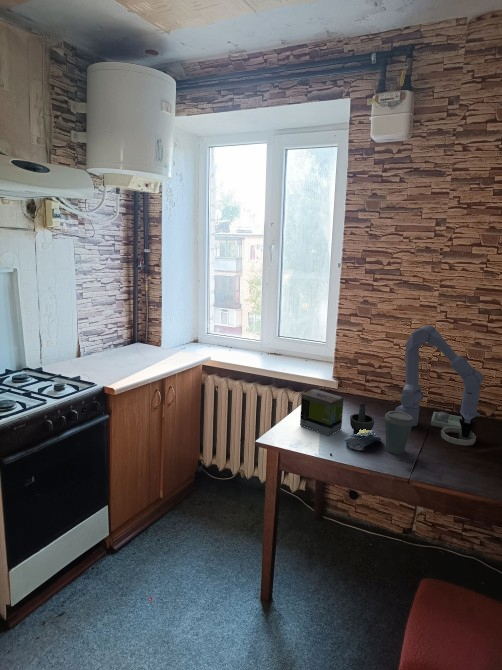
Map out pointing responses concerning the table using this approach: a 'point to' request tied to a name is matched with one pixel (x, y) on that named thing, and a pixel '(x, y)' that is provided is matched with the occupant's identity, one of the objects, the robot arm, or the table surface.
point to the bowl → (454, 440)
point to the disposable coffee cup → (397, 430)
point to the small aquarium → (321, 411)
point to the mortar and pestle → (361, 420)
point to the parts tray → (452, 422)
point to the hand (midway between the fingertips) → (465, 433)
